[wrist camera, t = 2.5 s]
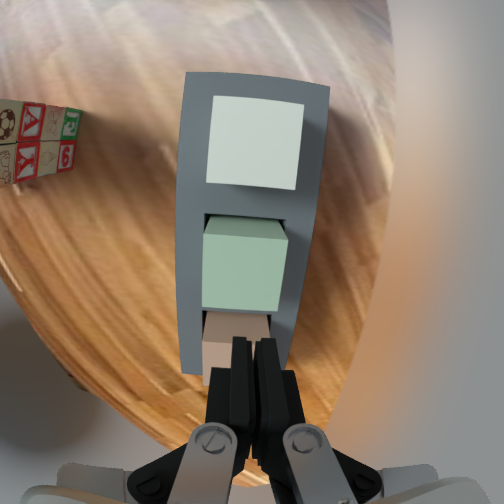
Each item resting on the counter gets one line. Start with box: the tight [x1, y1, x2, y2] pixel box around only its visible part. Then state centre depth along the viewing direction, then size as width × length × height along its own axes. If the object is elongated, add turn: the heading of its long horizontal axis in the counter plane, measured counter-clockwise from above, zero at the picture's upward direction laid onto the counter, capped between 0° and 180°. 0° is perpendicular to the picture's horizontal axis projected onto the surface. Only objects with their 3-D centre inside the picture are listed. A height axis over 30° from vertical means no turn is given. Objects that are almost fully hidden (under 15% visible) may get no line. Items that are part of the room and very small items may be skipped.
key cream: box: [206, 96, 304, 190], centre depth 16 cm, size 5×5×5 cm
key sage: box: [202, 214, 288, 311], centre depth 19 cm, size 5×5×5 cm
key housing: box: [175, 72, 330, 375], centre depth 22 cm, size 26×10×6 cm, turn 175°
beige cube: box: [202, 311, 270, 386], centre depth 22 cm, size 5×5×5 cm
